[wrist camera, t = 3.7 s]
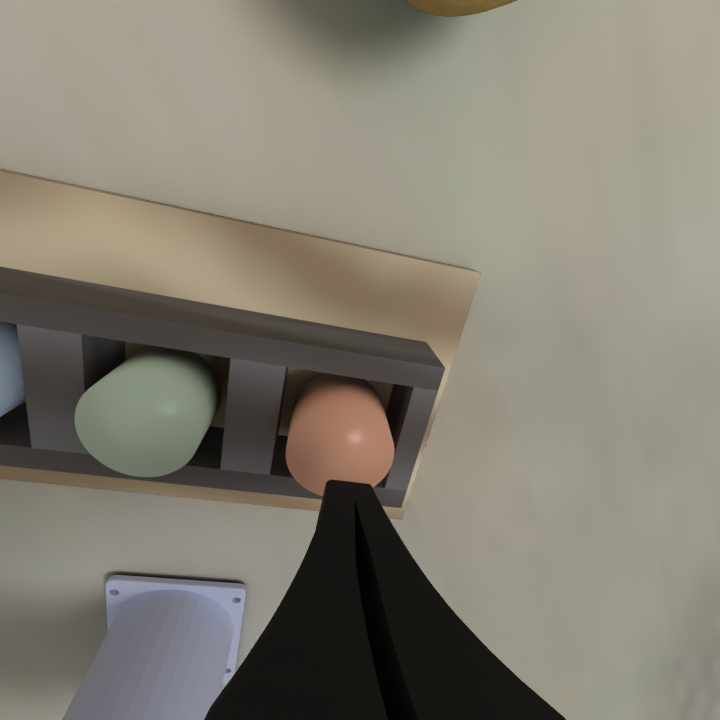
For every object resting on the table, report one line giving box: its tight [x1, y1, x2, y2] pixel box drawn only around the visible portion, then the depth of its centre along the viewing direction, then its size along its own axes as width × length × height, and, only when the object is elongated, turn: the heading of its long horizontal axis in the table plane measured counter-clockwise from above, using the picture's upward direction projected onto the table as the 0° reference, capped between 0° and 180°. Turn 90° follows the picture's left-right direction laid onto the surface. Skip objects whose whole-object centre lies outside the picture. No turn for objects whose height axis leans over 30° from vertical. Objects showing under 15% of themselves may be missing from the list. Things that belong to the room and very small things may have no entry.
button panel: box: [0, 169, 481, 520], centre depth 16 cm, size 14×24×4 cm, turn 78°
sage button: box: [75, 346, 222, 477], centre depth 14 cm, size 4×4×3 cm
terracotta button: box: [286, 373, 394, 496], centre depth 15 cm, size 4×4×3 cm
